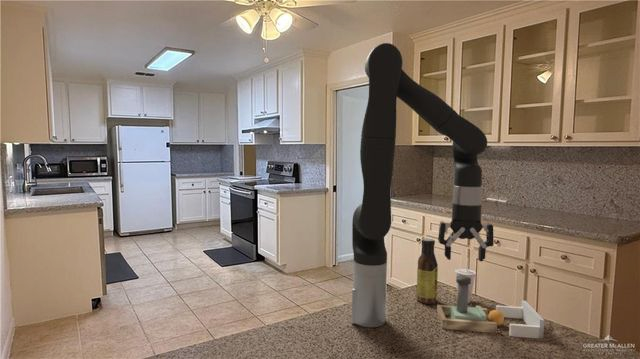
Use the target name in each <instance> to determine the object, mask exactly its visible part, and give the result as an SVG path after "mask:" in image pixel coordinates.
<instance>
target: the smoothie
mask: <svg viewBox="0 0 640 359" xmlns="http://www.w3.org/2000/svg"><path fill="white" fill-rule="evenodd" d="M469 262H470V258H469V257H467V258H466V268H456V269H455V270H454V274H455V278H456V277H457V276H466V277H469V278H471V284H469V288H468V304H470V303H471V299H472V294H473V289H474V283H475V278H476V277H477V273H476V271H474V270H472V269H469ZM456 293H457V294H458V283H457V282H456Z"/></svg>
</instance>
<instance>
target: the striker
mask: <svg viewBox="0 0 640 359" xmlns="http://www.w3.org/2000/svg"><path fill="white" fill-rule="evenodd" d="M455 280H456V281H455V282H456V284H457V283H458V294H457V298H456V305H450V306H451V308H450V315H449V317H450V319H461V320H474V321H487V319H488V315H487V316H486V314H485V313H484V311H483V309H482V308H483V307H482V306H481V305H475V307H476V308H475V307H473V306H469V305H468V304H469V303H468V288H469V284H471V278H469V277H466V276H457V277H456V276H455Z"/></svg>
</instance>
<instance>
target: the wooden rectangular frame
mask: <svg viewBox="0 0 640 359" xmlns="http://www.w3.org/2000/svg"><path fill="white" fill-rule="evenodd" d="M451 306H452V305H448V304H447V305H445V304H437V305H436V314H437V317H438V320H439V322H440V326H441V328H442V329H443V330H456V331H457V330H459V331H468V332H469V331H470V332H482V333H493V334H495V333H496V334H497V333H498V325H497V323H496V322H490V321H488V320H486V321H474V320H461V319H451V318H447V317H446V316H450V308H451ZM475 308H476V306H475ZM481 308H482V309H483V311H484V313H485V314H486V316H487V317H488V315H489V313H488V312H489V309H488V308H487V307H481Z"/></svg>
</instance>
